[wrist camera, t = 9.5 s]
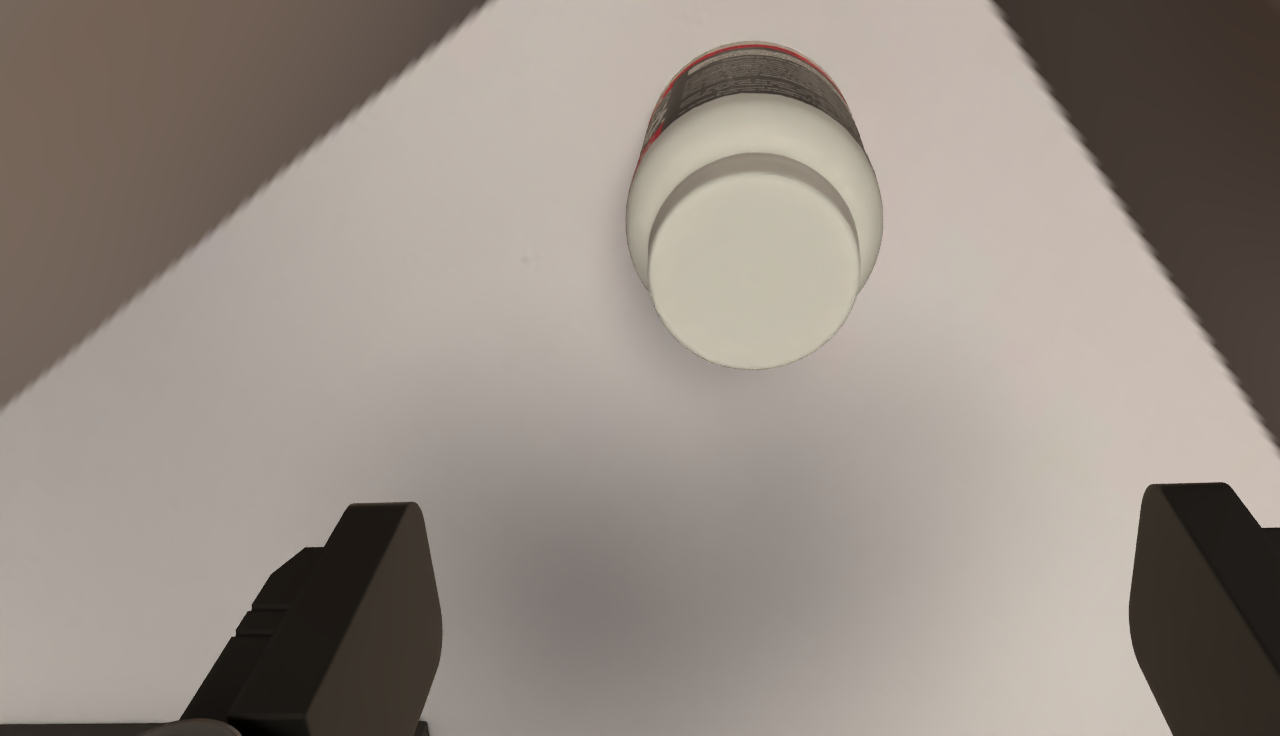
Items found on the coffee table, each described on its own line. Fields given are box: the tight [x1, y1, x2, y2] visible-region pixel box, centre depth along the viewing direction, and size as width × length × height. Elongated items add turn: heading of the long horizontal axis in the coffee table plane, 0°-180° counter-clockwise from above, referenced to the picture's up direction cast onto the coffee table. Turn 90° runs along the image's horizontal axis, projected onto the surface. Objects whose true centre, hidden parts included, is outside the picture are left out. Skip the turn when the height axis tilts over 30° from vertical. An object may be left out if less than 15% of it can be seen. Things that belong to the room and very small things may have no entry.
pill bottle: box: [626, 41, 883, 370], centre depth 25 cm, size 5×5×10 cm
